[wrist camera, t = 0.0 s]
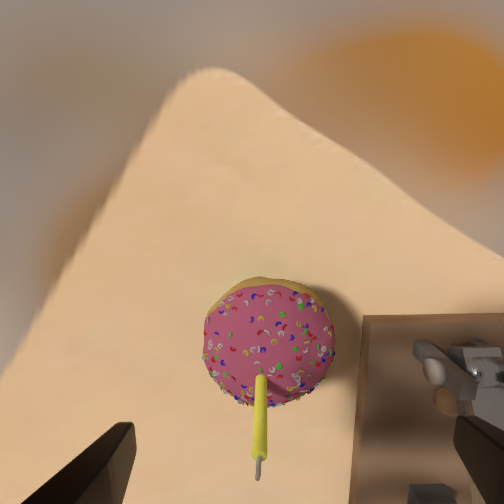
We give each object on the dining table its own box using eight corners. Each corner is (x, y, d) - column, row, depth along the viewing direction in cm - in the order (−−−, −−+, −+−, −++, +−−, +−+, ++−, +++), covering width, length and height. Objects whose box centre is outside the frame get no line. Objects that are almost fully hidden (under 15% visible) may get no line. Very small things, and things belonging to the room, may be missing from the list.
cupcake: (286, 376, 24) (324, 551, 12) (192, 337, 23) (138, 485, 12) (335, 288, 23) (432, 392, 11) (237, 242, 22) (228, 302, 10)
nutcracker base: (473, 509, 28) (541, 604, 21) (348, 512, 27) (378, 610, 21) (510, 313, 23) (608, 358, 17) (363, 315, 23) (407, 362, 17)
